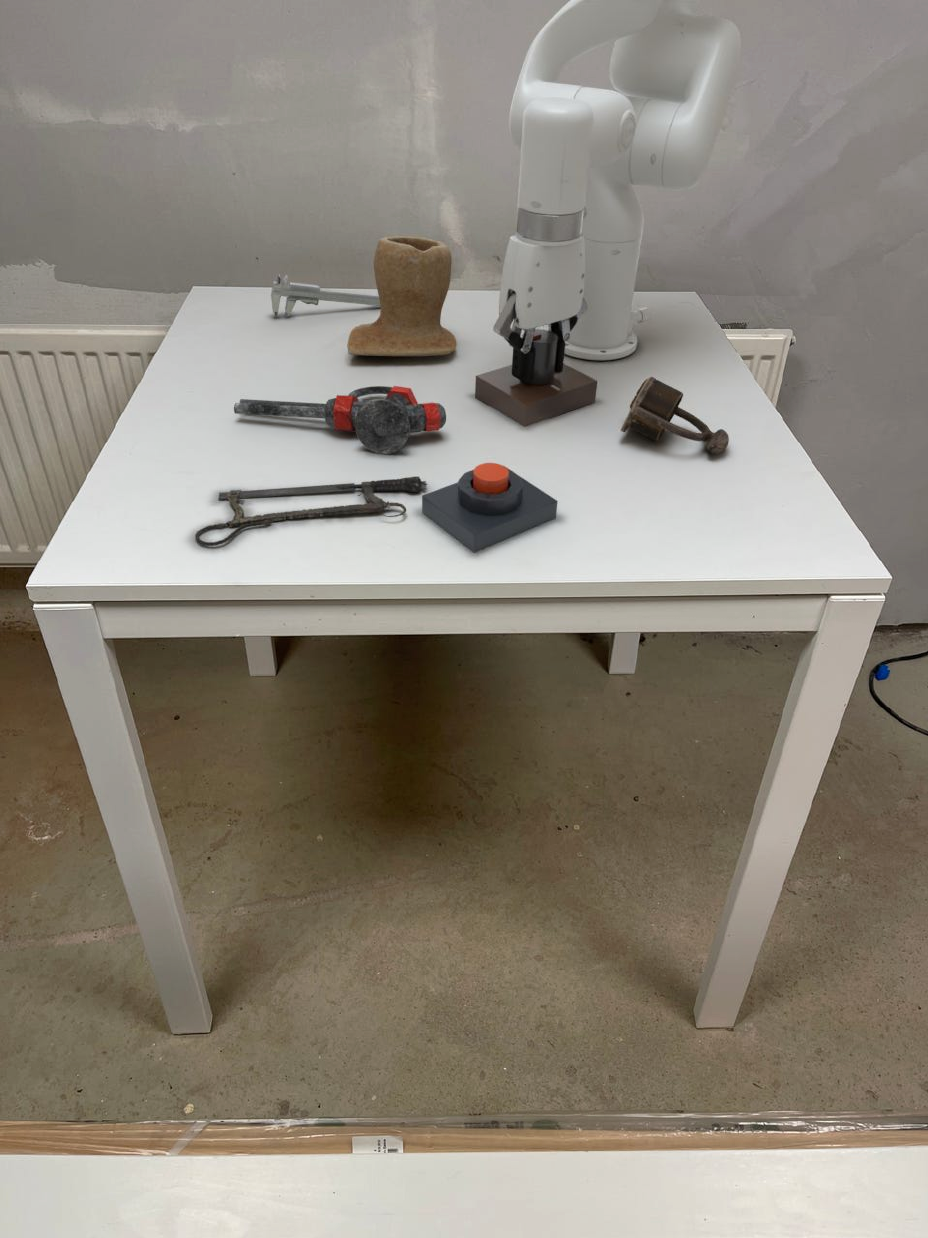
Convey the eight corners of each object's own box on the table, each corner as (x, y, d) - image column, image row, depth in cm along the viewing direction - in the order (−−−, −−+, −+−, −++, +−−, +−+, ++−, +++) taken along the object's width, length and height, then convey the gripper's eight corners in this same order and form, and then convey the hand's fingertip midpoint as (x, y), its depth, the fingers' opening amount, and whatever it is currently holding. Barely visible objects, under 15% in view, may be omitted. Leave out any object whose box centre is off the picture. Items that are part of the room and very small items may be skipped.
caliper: (274, 319, 135) (269, 276, 131) (273, 316, 136) (268, 274, 132) (405, 306, 140) (404, 265, 136) (403, 303, 141) (402, 263, 137)
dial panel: (544, 374, 122) (546, 352, 120) (595, 402, 116) (598, 379, 114) (474, 397, 116) (475, 374, 114) (524, 427, 110) (526, 403, 108)
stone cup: (453, 332, 133) (455, 225, 123) (458, 365, 124) (461, 253, 114) (350, 332, 132) (344, 225, 122) (347, 366, 123) (341, 253, 113)
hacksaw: (426, 484, 99) (426, 472, 98) (435, 536, 92) (435, 524, 91) (203, 494, 97) (201, 482, 96) (193, 549, 89) (191, 536, 88)
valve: (460, 418, 116) (437, 459, 103) (268, 406, 119) (223, 444, 107) (460, 369, 112) (437, 405, 100) (263, 358, 116) (216, 391, 103)
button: (493, 473, 95) (493, 459, 93) (514, 488, 92) (516, 473, 91) (466, 484, 93) (466, 469, 92) (487, 499, 91) (488, 484, 90)
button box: (502, 482, 100) (504, 450, 98) (556, 518, 95) (559, 485, 92) (421, 513, 95) (421, 480, 92) (474, 553, 90) (475, 519, 87)
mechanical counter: (660, 368, 112) (612, 373, 105) (751, 393, 104) (706, 400, 98) (648, 425, 115) (601, 433, 108) (735, 453, 107) (691, 464, 101)
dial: (538, 367, 117) (542, 323, 113) (560, 379, 114) (565, 335, 110) (512, 375, 115) (515, 331, 111) (534, 388, 112) (538, 343, 108)
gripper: (581, 204, 109) (566, 349, 120) (470, 226, 101) (466, 379, 112) (625, 219, 104) (605, 368, 116) (513, 244, 96) (504, 402, 108)
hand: (537, 372), depth 114 cm, fingers closed on dial, 4 cm apart
